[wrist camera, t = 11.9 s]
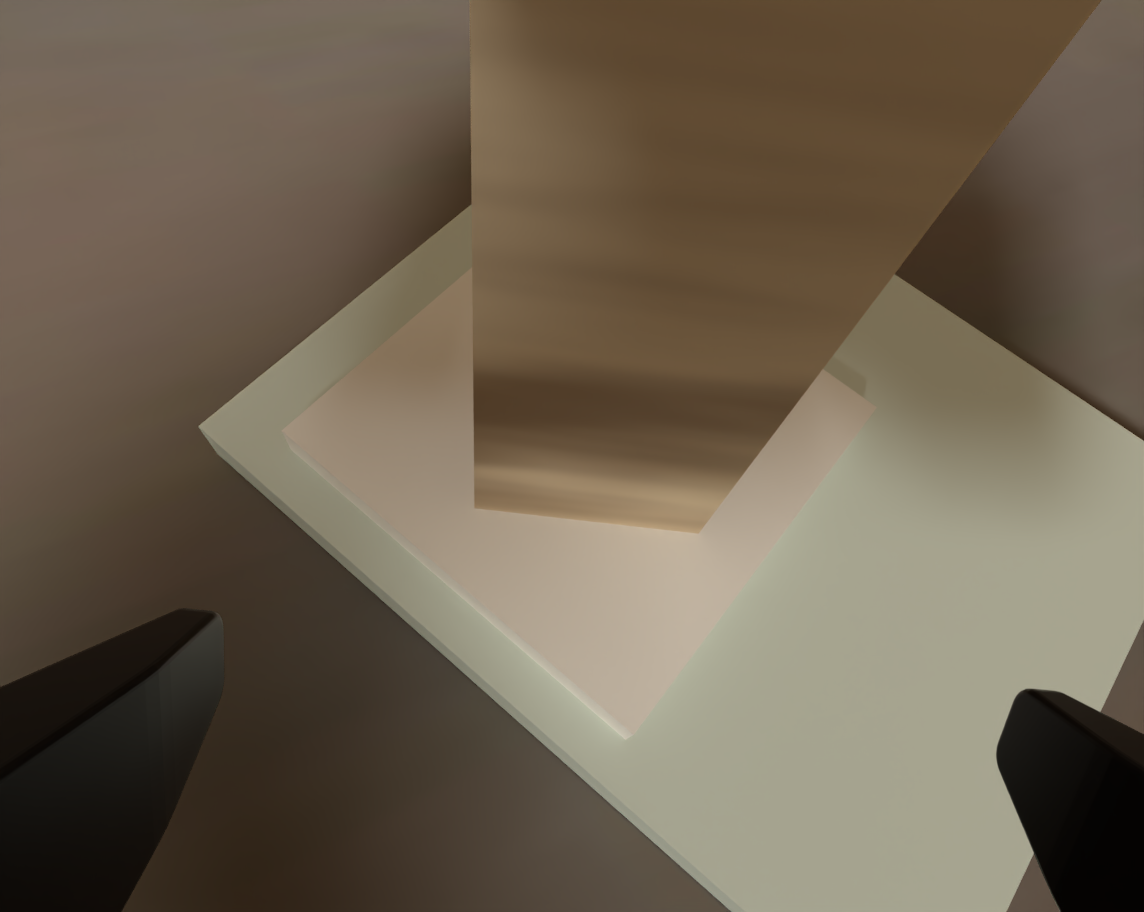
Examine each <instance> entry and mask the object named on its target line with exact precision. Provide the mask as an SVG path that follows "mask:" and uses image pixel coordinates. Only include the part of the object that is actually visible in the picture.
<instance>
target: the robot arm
mask: <svg viewBox="0 0 1144 912" xmlns="http://www.w3.org/2000/svg"><path fill="white" fill-rule="evenodd" d="M223 685H224V638H223V622H222V618H221V616H220V615H219V614H218V613H217V612H215V611H208V610H197V609H187V608H183V609H178V610H175V611H173V612H170V613H168V614H166V615H164V616H161V617H159V618H157V619H155V620H152V621H150V622H148V623H145V624H143V625H141V626H139V627H136V628H134V629H132V630H129V631H127V632H125V633H123V634H120V635H118V636H116V637H114V638H111V639H109V640H107V641H104V642H102V643H100V644H98V645H95V646H93V647H91V648H88V649H86V650H84V651H82V652H79V653H77V654H75V655H73V656H70V657H68V658H66V659H63V660H61V661H59V662H57V663H54V664H52V665H50V666H47V667H45V668H43V669H41V670H38V671H36V672H34V673H31V674H29V675H27V676H25V677H22V678H20V679H18V680H16V681H13V682H11V683H9V684H6V685H4V686H2V687H0V912H122V910H123V908H124V906H125V904H126V902H127V901H128V899H129V897H130V895H131V893H132V891H133V890H134V888H135V886H136V884H137V882H138V880H139V879H140V877H141V875H142V873H143V871H144V870H145V868H146V866H147V864H148V862H149V860H150V859H151V857H152V855H153V853H154V851H155V849H156V847H157V845H158V844H159V842H160V840H161V838H162V836H163V834H164V832H165V830H166V828H167V826H168V824H169V821H170V819H171V817H172V814H173V812H174V810H175V808H176V805H177V803H178V800H179V798H180V796H181V793H182V791H183V788H184V786H185V783H186V781H187V778H188V776H189V774H190V771H191V769H192V766H193V764H194V761H195V759H196V757H197V754H198V752H199V749H200V747H201V744H202V742H203V740H204V737H205V735H206V732H207V730H208V727H209V725H210V722H211V720H212V718H213V715H214V713H215V710H216V708H217V705H218V703H219V700H220V698H221V694H222V690H223ZM996 760H997V765H998V769H999V772H1000V774H1001V776H1002V779H1003V781H1004V783H1005V786H1006V788H1007V791H1008V793H1009V795H1010V798H1011V800H1012V803H1013V805H1014V807H1015V810H1016V812H1017V814H1018V817H1019V819H1020V822H1021V824H1022V826H1023V829H1024V831H1025V833H1026V836H1027V838H1028V841H1029V843H1030V845H1031V848H1032V850H1033V852H1034V855H1035V857H1036V860H1037V862H1038V864H1039V867H1040V869H1041V871H1042V874H1043V876H1044V878H1045V881H1046V883H1047V885H1048V887H1049V889H1050V892H1051V894H1052V896H1053V898H1054V900H1055V902H1056V904H1057V906H1058V908H1059V910H1060V912H1144V734H1142V733H1140V732H1138V731H1136V730H1134V729H1132V728H1130V727H1128V726H1126V725H1125V724H1123V723H1121V722H1119V721H1117V720H1115V719H1113V718H1111V717H1109V716H1107V715H1105V714H1103V713H1101V712H1099V711H1097V710H1095V709H1093V708H1091V707H1090V706H1088V705H1086V704H1084V703H1082V702H1080V701H1078V700H1076V699H1074V698H1072V697H1070V696H1068V695H1066V694H1064V693H1062V692H1058V691H1053V690H1042V689H1030V688H1028V689H1024V690H1022V691H1020V692H1019V693H1018V694H1017V695H1016V697H1015V699H1014V701H1013V703H1012V706H1011V709H1010V711H1009V714H1008V717H1007V720H1006V722H1005V725H1004V728H1003V730H1002V733H1001V736H1000V738H999V741H998V744H997V749H996Z"/></svg>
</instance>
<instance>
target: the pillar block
mask: <svg viewBox="0 0 1144 912" xmlns="http://www.w3.org/2000/svg"><path fill="white" fill-rule="evenodd" d="M1100 2H1101V0H470V91H471V198H472V305H473V413H474V508H476V509H485V510H494V511H503V512H511V513H520V514H529V515H538V516H547V517H556V518H564V519H573V520H582V521H591V522H600V523H608V524H617V525H626V526H635V527H644V528H653V529H661V530H670V531H679V532H688V533H697V534H699V532H700V531H701V530H702V528H703V527H704V526H705V524H706V523H707V522H708V520H709V519H710V518H711V516H712V515H713V514H714V512H715V511H716V510H717V508H718V507H719V506H720V504H721V503H722V502H723V501H724V499H725V498H726V497H727V495H728V494H729V493H730V491H731V490H732V489H733V487H734V486H735V485H736V483H737V482H738V481H739V479H740V478H741V477H742V475H743V474H744V473H745V471H746V470H747V469H748V467H749V466H750V465H751V463H752V462H753V461H754V459H755V458H756V457H757V456H758V454H759V453H760V452H761V450H762V449H763V448H764V446H765V445H766V444H767V442H768V441H769V440H770V438H771V437H772V436H773V434H774V433H775V432H776V430H777V429H778V428H779V426H780V425H781V424H782V422H783V421H784V420H785V418H786V417H787V416H788V415H789V413H790V412H791V411H792V409H793V408H794V407H795V405H796V404H797V403H798V401H799V400H800V399H801V397H802V396H803V395H804V393H805V392H806V391H807V389H808V388H809V387H810V385H811V384H812V383H813V381H814V380H815V379H816V377H817V376H818V375H819V373H820V372H821V371H822V370H823V368H824V367H825V366H826V364H827V363H828V362H829V360H830V359H831V358H832V356H833V355H834V354H835V352H836V351H837V350H838V348H839V347H840V346H841V344H842V343H843V342H844V340H845V339H846V338H847V336H848V335H849V334H850V332H851V331H852V330H853V328H854V327H855V326H856V325H857V323H858V322H859V321H860V319H861V318H862V317H863V315H864V314H865V313H866V311H867V310H868V309H869V307H870V306H871V305H872V303H873V302H874V301H875V299H876V298H877V297H878V295H879V294H880V293H881V291H882V290H883V289H884V287H885V286H886V285H887V283H888V282H889V281H890V280H891V278H892V277H893V276H894V274H895V273H896V272H897V270H898V269H899V268H900V266H901V265H902V264H903V262H904V261H905V260H906V258H907V257H908V256H909V254H910V253H911V252H912V250H913V249H914V248H915V246H916V245H917V244H918V242H919V241H920V240H921V239H922V237H923V236H924V235H925V233H926V232H927V231H928V229H929V228H930V227H931V225H932V224H933V223H934V221H935V220H936V219H937V217H938V216H939V215H940V213H941V212H942V211H943V209H944V208H945V207H946V205H947V204H948V203H949V201H950V200H951V199H952V197H953V196H954V195H955V194H956V192H957V191H958V190H959V188H960V187H961V186H962V184H963V183H964V182H965V180H966V179H967V178H968V176H969V175H970V174H971V172H972V171H973V170H974V168H975V167H976V166H977V164H978V163H979V162H980V160H981V159H982V158H983V156H984V155H985V154H986V152H987V151H988V150H989V149H990V147H991V146H992V145H993V143H994V142H995V141H996V139H997V138H998V137H999V135H1000V134H1001V133H1002V131H1003V130H1004V129H1005V127H1006V126H1007V125H1008V123H1009V122H1010V121H1011V119H1012V118H1013V117H1014V115H1015V114H1016V113H1017V111H1018V110H1019V109H1020V108H1021V106H1022V105H1023V104H1024V102H1025V101H1026V100H1027V98H1028V97H1029V96H1030V94H1031V93H1032V92H1033V90H1034V89H1035V88H1036V86H1037V85H1038V84H1039V82H1040V81H1041V80H1042V78H1043V77H1044V76H1045V74H1046V73H1047V72H1048V70H1049V69H1050V68H1051V66H1052V65H1053V64H1054V63H1055V61H1056V60H1057V59H1058V57H1059V56H1060V55H1061V53H1062V52H1063V51H1064V49H1065V48H1066V47H1067V45H1068V44H1069V43H1070V41H1071V40H1072V39H1073V37H1074V36H1075V35H1076V33H1077V32H1078V31H1079V29H1080V28H1081V27H1082V25H1083V24H1084V23H1085V21H1086V20H1087V19H1088V18H1089V16H1090V15H1091V14H1092V12H1093V11H1094V10H1095V8H1096V7H1097V6H1098V4H1099V3H1100Z"/></svg>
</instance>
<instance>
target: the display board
mask: <svg viewBox="0 0 1144 912" xmlns="http://www.w3.org/2000/svg"><path fill="white" fill-rule="evenodd" d="M198 427H199V428H200V430H201V431H202V433H203V434H204V436H205V437H206V438H207V440H208V441H209V443H210V444H211V446H212V447H213V448H214V450H215V451H216V453H217V454H218V455H219V456H220V457H222V458H223V459H224V460H225V461H226V462H227V463H228V464H229V465H231V466H232V467H233V468H234V469H235V470H236V471H237V472H238V473H240V474H241V475H242V476H243V477H244V478H245V479H246V480H247V481H249V482H250V483H251V484H252V485H253V486H254V487H255V488H256V489H257V490H259V491H260V492H261V493H262V494H263V495H264V496H265V497H266V498H268V499H269V500H270V501H271V502H272V503H273V504H274V505H275V506H277V507H278V508H279V509H280V510H281V511H282V512H283V513H284V514H286V515H287V516H288V517H289V518H290V519H291V520H292V521H293V522H295V523H296V524H297V525H298V526H299V527H300V528H301V529H302V530H304V531H305V532H306V533H307V534H308V535H309V536H310V537H311V538H313V539H314V540H315V541H316V542H317V543H318V544H319V545H320V546H321V547H323V548H324V549H325V550H326V551H327V552H328V553H329V554H330V555H332V556H333V557H334V558H335V559H336V560H337V561H338V562H339V563H341V564H342V565H343V566H344V567H345V568H346V569H347V570H348V571H350V572H351V573H352V574H353V575H354V576H355V577H356V578H357V579H359V580H360V581H361V582H362V583H363V584H364V585H365V586H366V587H368V588H369V589H370V590H371V591H372V592H373V593H374V594H375V595H377V596H378V597H379V598H380V599H381V600H382V601H383V602H384V603H385V604H387V605H388V606H389V607H390V608H391V609H392V610H393V611H394V612H396V613H397V614H398V615H399V616H400V617H401V618H402V619H403V620H405V621H406V622H407V623H408V624H409V625H410V626H411V627H412V628H414V629H415V630H416V631H417V632H418V633H419V634H420V635H421V636H423V637H424V638H425V639H426V640H427V641H428V642H429V643H430V644H432V645H433V646H434V647H435V648H436V649H437V650H438V651H439V652H441V653H442V654H443V655H444V656H445V657H446V658H447V659H448V660H449V661H451V662H452V663H453V664H454V665H455V666H456V667H457V668H458V669H460V670H461V671H462V672H463V673H464V674H465V675H466V676H467V677H469V678H470V679H471V680H472V681H473V682H474V683H475V684H476V685H478V686H479V687H480V688H481V689H482V690H483V691H484V692H485V693H487V694H488V695H489V696H490V697H491V698H492V699H493V700H494V701H496V702H497V703H498V704H499V705H500V706H501V707H502V708H503V709H505V710H506V711H507V712H508V713H509V714H510V715H511V716H512V717H514V718H515V719H516V720H517V721H518V722H519V723H520V724H521V725H522V726H524V727H525V728H526V729H527V730H528V731H529V732H530V733H531V734H533V735H534V736H535V737H536V738H537V739H538V740H539V741H540V742H542V743H543V744H544V745H545V746H546V747H547V748H548V749H549V750H551V751H552V752H553V753H554V754H555V755H556V756H557V757H558V758H560V759H561V760H562V761H563V762H564V763H565V764H566V765H567V766H569V767H570V768H571V769H572V770H573V771H574V772H575V773H576V774H578V775H579V776H580V777H581V778H582V779H583V780H584V781H585V782H586V783H588V784H589V785H590V786H591V787H592V788H593V789H594V790H595V791H597V792H598V793H599V794H600V795H601V796H602V797H603V798H604V799H606V800H607V801H608V802H609V803H610V804H611V805H612V806H613V807H615V808H616V809H617V810H618V811H619V812H620V813H621V814H622V815H624V816H625V817H626V818H627V819H628V820H629V821H630V822H631V823H633V824H634V825H635V826H636V827H637V828H638V829H639V830H640V831H642V832H643V833H644V834H645V835H646V836H647V837H648V838H649V839H650V840H652V841H653V842H654V843H655V844H656V845H657V846H658V847H659V848H661V849H662V850H663V851H664V852H665V853H666V854H667V855H668V856H670V857H671V858H672V859H673V860H674V861H675V862H676V863H677V864H679V865H680V866H681V867H682V868H683V869H684V870H685V871H686V872H688V873H689V874H690V875H691V876H692V877H693V878H694V879H695V880H697V881H698V882H699V883H700V884H701V885H702V886H703V887H704V888H706V889H707V890H708V891H709V892H710V893H711V894H712V895H713V896H714V897H716V898H717V899H718V900H719V901H720V902H721V903H722V904H723V905H725V906H726V907H727V908H728V909H729V910H730V911H731V912H1006V911H1007V909H1008V907H1009V905H1010V903H1011V901H1012V898H1013V896H1014V894H1015V892H1016V890H1017V888H1018V886H1019V884H1020V881H1021V879H1022V877H1023V875H1024V873H1025V871H1026V869H1027V867H1028V864H1029V862H1030V860H1031V858H1032V856H1033V854H1034V852H1033V850H1032V848H1031V845H1030V843H1029V841H1028V838H1027V836H1026V833H1025V831H1024V829H1023V826H1022V824H1021V822H1020V819H1019V817H1018V814H1017V812H1016V810H1015V807H1014V805H1013V803H1012V800H1011V798H1010V795H1009V793H1008V791H1007V788H1006V786H1005V783H1004V781H1003V779H1002V776H1001V774H1000V772H999V769H998V765H997V760H996V749H997V744H998V741H999V738H1000V736H1001V733H1002V730H1003V728H1004V725H1005V722H1006V720H1007V717H1008V714H1009V711H1010V709H1011V706H1012V703H1013V701H1014V699H1015V697H1016V695H1017V694H1018V693H1019V692H1020V691H1022V690H1024V689H1028V688H1030V689H1042V690H1053V691H1058V692H1062V693H1064V694H1066V695H1068V696H1070V697H1072V698H1074V699H1076V700H1078V701H1080V702H1082V703H1084V704H1086V705H1088V706H1090V707H1091V708H1093V709H1095V710H1097V711H1099V712H1100V711H1101V709H1102V707H1103V705H1104V703H1105V701H1106V699H1107V697H1108V694H1109V692H1110V690H1111V688H1112V686H1113V684H1114V682H1115V679H1116V677H1117V675H1118V673H1119V671H1120V669H1121V667H1122V665H1123V662H1124V660H1125V658H1126V656H1127V654H1128V652H1129V650H1130V648H1131V645H1132V643H1133V641H1134V639H1135V637H1136V635H1137V633H1138V631H1139V628H1140V626H1141V624H1142V622H1143V620H1144V441H1143V440H1142V439H1140V438H1139V437H1137V436H1136V435H1134V434H1133V433H1131V432H1130V431H1128V430H1127V429H1125V428H1124V427H1122V426H1121V425H1119V424H1118V423H1116V422H1115V421H1113V420H1112V419H1110V418H1109V417H1107V416H1106V415H1104V414H1103V413H1101V412H1100V411H1098V410H1097V409H1095V408H1094V407H1092V406H1091V405H1089V404H1088V403H1086V402H1085V401H1083V400H1082V399H1080V398H1079V397H1077V396H1076V395H1074V394H1073V393H1071V392H1070V391H1068V390H1067V389H1065V388H1064V387H1062V386H1061V385H1059V384H1058V383H1056V382H1055V381H1053V380H1052V379H1050V378H1049V377H1047V376H1046V375H1044V374H1043V373H1041V372H1040V371H1038V370H1037V369H1035V368H1034V367H1032V366H1031V365H1029V364H1028V363H1026V362H1025V361H1023V360H1022V359H1020V358H1019V357H1018V356H1016V355H1015V354H1013V353H1012V352H1010V351H1009V350H1007V349H1006V348H1004V347H1003V346H1001V345H1000V344H998V343H997V342H995V341H994V340H992V339H991V338H989V337H988V336H986V335H985V334H983V333H982V332H980V331H979V330H977V329H976V328H974V327H973V326H971V325H970V324H968V323H967V322H965V321H964V320H962V319H961V318H959V317H958V316H956V315H955V314H953V313H952V312H950V311H949V310H947V309H946V308H944V307H943V306H941V305H940V304H938V303H937V302H935V301H934V300H932V299H931V298H929V297H928V296H926V295H925V294H923V293H922V292H920V291H919V290H917V289H916V288H914V287H913V286H911V285H910V284H908V283H907V282H905V281H904V280H902V279H901V278H899V277H898V276H896V275H895V274H894V276H893V277H892V278H891V280H890V281H889V282H888V283H887V285H886V286H885V287H884V289H883V290H882V291H881V293H880V294H879V295H878V297H877V298H876V299H875V301H874V302H873V303H872V305H871V306H870V307H869V309H868V310H867V311H866V313H865V314H864V315H863V317H862V318H861V319H860V321H859V322H858V323H857V325H856V326H855V327H854V328H853V330H852V331H851V332H850V334H849V335H848V336H847V338H846V339H845V340H844V342H843V343H842V344H841V346H840V347H839V348H838V350H837V351H836V352H835V354H834V355H833V356H832V358H831V359H830V360H829V362H828V363H827V364H826V366H825V367H824V368H823V370H822V371H821V372H820V373H819V375H818V376H817V377H816V379H815V380H814V381H813V383H812V384H811V385H810V387H809V388H808V389H807V391H806V392H805V393H804V395H803V396H802V397H801V399H800V400H799V401H798V403H797V404H796V405H795V407H794V408H793V409H792V411H791V412H790V413H789V415H788V416H787V417H786V418H785V420H784V421H783V422H782V424H781V425H780V426H779V428H778V429H777V430H776V432H775V433H774V434H773V436H772V437H771V438H770V440H769V441H768V442H767V444H766V445H765V446H764V448H763V449H762V450H761V452H760V453H759V454H758V456H757V457H756V458H755V459H754V461H753V462H752V463H751V465H750V466H749V467H748V469H747V470H746V471H745V473H744V474H743V475H742V477H741V478H740V479H739V481H738V482H737V483H736V485H735V486H734V487H733V489H732V490H731V491H730V493H729V494H728V495H727V497H726V498H725V499H724V501H723V502H722V503H721V504H720V506H719V507H718V508H717V510H716V511H715V512H714V514H713V515H712V516H711V518H710V519H709V520H708V522H707V523H706V524H705V526H704V527H703V528H702V530H701V531H700V532H699V534H697V533H688V532H679V531H670V530H661V529H653V528H644V527H635V526H626V525H617V524H608V523H600V522H591V521H582V520H573V519H564V518H556V517H547V516H538V515H529V514H520V513H511V512H503V511H494V510H485V509H476V508H474V413H473V305H472V204H471V205H470V206H469V207H467V208H466V209H465V210H464V211H462V212H461V213H460V214H459V215H457V216H456V217H455V218H454V219H453V220H451V221H450V222H449V223H448V224H446V225H445V226H444V227H443V228H441V229H440V230H439V231H438V232H437V233H435V234H434V235H433V236H432V237H430V238H429V239H428V240H427V241H426V242H424V243H423V244H422V245H421V246H419V247H418V248H417V249H416V250H414V251H413V252H412V253H411V254H410V255H408V256H407V257H406V258H405V259H403V260H402V261H401V262H400V263H398V264H397V265H396V266H395V267H394V268H392V269H391V270H390V271H389V272H387V273H386V274H385V275H384V276H382V277H381V278H380V279H379V280H378V281H376V282H375V283H374V284H373V285H371V286H370V287H369V288H368V289H366V290H365V291H364V292H363V293H362V294H360V295H359V296H358V297H357V298H355V299H354V300H353V301H352V302H350V303H349V304H348V305H347V306H346V307H344V308H343V309H342V310H341V311H339V312H338V313H337V314H336V315H334V316H333V317H332V318H331V319H330V320H328V321H327V322H326V323H325V324H323V325H322V326H321V327H320V328H318V329H317V330H316V331H315V332H314V333H312V334H311V335H310V336H309V337H307V338H306V339H305V340H304V341H302V342H301V343H300V344H299V345H298V346H296V347H295V348H294V349H293V350H291V351H290V352H289V353H288V354H286V355H285V356H284V357H283V358H282V359H280V360H279V361H278V362H277V363H275V364H274V365H273V366H272V367H271V368H269V369H268V370H267V371H266V372H264V373H263V374H262V375H261V376H259V377H258V378H257V379H256V380H255V381H253V382H252V383H251V384H250V385H248V386H247V387H246V388H245V389H243V390H242V391H241V392H240V393H239V394H237V395H236V396H235V397H234V398H232V399H231V400H230V401H229V402H227V403H226V404H225V405H224V406H223V407H221V408H220V409H219V410H218V411H216V412H215V413H214V414H213V415H211V416H210V417H209V418H208V419H207V420H205V421H204V422H203V423H202V424H200V425H199V426H198Z"/></svg>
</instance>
